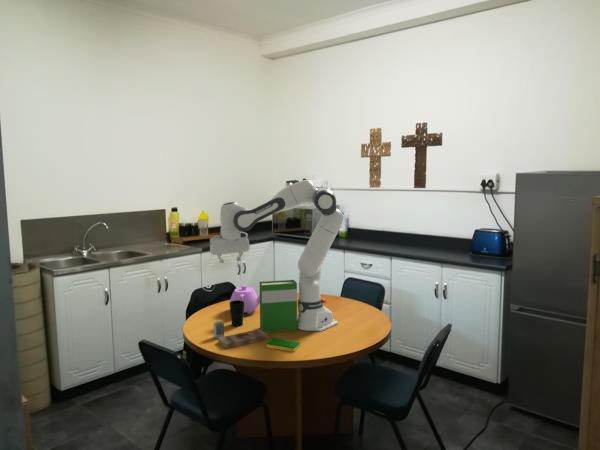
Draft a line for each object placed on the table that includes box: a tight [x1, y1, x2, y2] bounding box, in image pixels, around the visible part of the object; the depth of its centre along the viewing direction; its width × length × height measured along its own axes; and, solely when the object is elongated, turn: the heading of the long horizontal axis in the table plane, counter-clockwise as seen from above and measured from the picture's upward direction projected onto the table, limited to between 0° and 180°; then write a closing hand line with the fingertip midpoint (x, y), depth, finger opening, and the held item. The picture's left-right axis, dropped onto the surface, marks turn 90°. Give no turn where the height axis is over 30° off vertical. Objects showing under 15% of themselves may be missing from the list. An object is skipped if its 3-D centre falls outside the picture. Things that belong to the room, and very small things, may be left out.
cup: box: [229, 300, 245, 328], centre depth 238 cm, size 8×8×12 cm
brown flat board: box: [217, 328, 270, 350], centre depth 217 cm, size 22×9×2 cm, turn 123°
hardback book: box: [259, 279, 298, 333], centre depth 232 cm, size 18×7×24 cm, turn 103°
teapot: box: [229, 284, 260, 315], centre depth 258 cm, size 20×20×15 cm
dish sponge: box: [266, 337, 301, 353], centre depth 210 cm, size 7×14×2 cm, turn 66°
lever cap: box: [213, 319, 225, 340], centre depth 222 cm, size 4×3×8 cm
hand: (230, 261), depth 232 cm, fingers open, 8 cm apart
